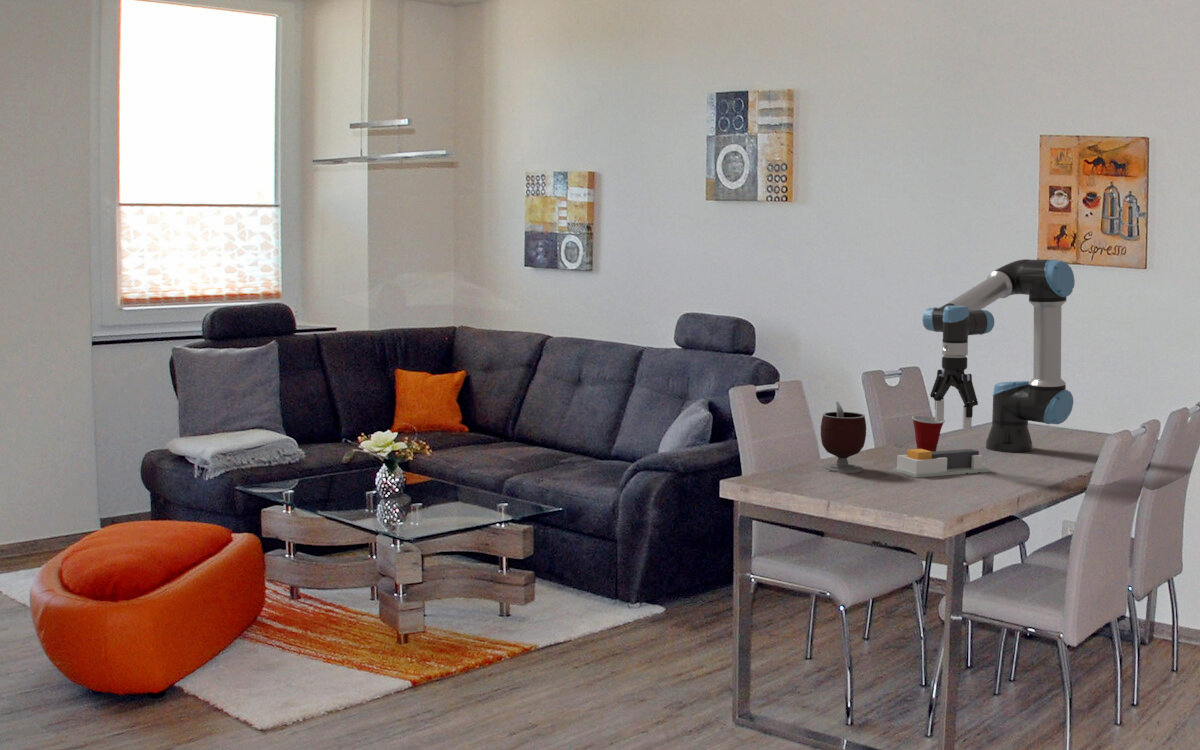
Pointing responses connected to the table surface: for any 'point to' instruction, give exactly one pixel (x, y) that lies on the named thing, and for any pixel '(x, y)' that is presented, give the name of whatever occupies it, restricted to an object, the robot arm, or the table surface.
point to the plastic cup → (927, 432)
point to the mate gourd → (843, 438)
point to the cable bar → (946, 456)
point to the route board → (935, 466)
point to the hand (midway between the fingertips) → (952, 424)
